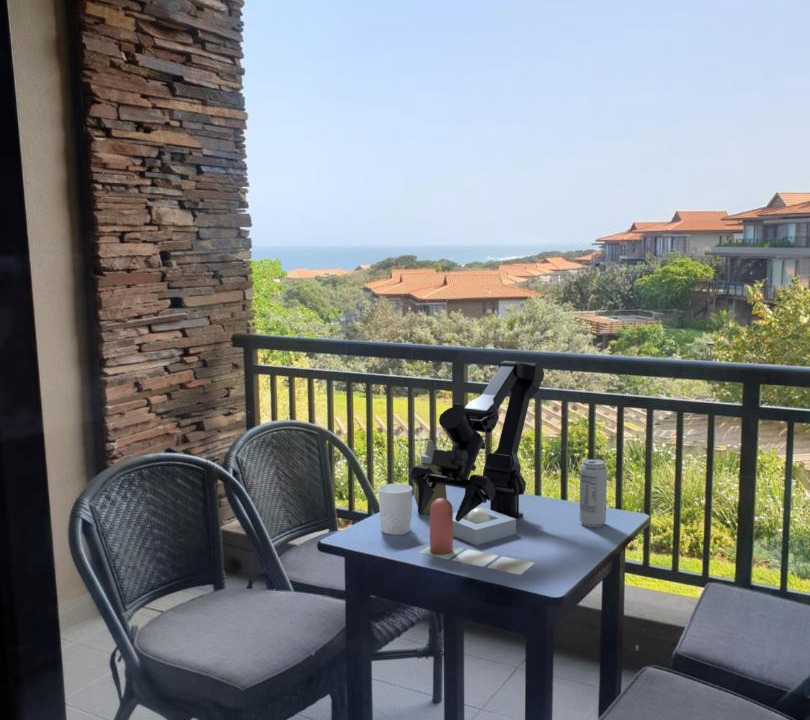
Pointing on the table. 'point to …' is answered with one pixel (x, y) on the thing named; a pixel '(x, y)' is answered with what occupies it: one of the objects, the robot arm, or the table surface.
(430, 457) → the squeeze bottle
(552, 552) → the table surface
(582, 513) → the energy drink can
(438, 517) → the red domed cylinder
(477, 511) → the plunger
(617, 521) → the table surface
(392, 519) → the white cup
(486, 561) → the track
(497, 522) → the button box
